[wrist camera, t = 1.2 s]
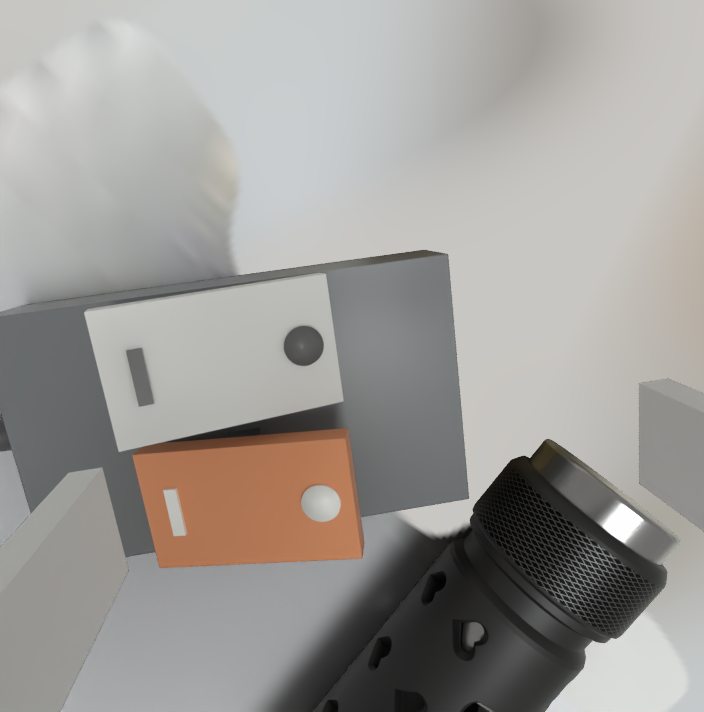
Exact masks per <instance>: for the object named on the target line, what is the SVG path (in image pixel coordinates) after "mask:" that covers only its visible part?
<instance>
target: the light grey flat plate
mask: <svg viewBox="0 0 704 712" xmlns="http://www.w3.org/2000/svg"><path fill="white" fill-rule="evenodd" d="M84 314H85V318H86V323H87V327H88V331H89V335H90V339H91V343H92V347H93V351H94V355H95V359H96V363H97V367H98V371H99V375H100V379H101V383H102V387H103V391H104V395H105V399H106V403H107V407H108V411H109V415H110V419H111V423H112V427H113V431H114V435H115V439H116V443H117V447H118V451H119V452H121V451H126V450H130V449H135V448H139V447H143V446H148V445H152V444H157V443H161V442H166V441H170V440H175V439H179V438H183V437H188V436H192V435H197V434H201V433H206V432H210V431H214V430H219V429H223V428H228V427H232V426H237V425H241V424H246V423H250V422H254V421H259V420H263V419H268V418H272V417H277V416H281V415H285V414H290V413H294V412H299V411H303V410H308V409H312V408H317V407H321V406H325V405H330V404H334V403H339V402H343V401H344V399H343V392H342V385H341V378H340V371H339V363H338V356H337V349H336V342H335V335H334V328H333V320H332V313H331V306H330V299H329V292H328V285H327V277H326V274H324V273H314V274H307V275H301V276H295V277H288V278H282V279H275V280H269V281H263V282H256V283H250V284H244V285H237V286H231V287H225V288H218V289H212V290H206V291H199V292H193V293H186V294H180V295H174V296H167V297H161V298H155V299H148V300H142V301H136V302H129V303H123V304H117V305H110V306H104V307H97V308H91V309H88V310H86V311H85V312H84Z"/></svg>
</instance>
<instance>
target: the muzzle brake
mask: <svg viewBox="0 0 704 712" xmlns="http://www.w3.org/2000/svg"><path fill="white" fill-rule="evenodd" d="M473 512H474V514H473V515H472V516H471V518H470V524H471V527H472V529H473V530H472V531H471V532H470V534H469V535H468V536H467V537H466V538H458V539H456V540H454V541H451V542H450V544H449V545H448V546H447V547H446V549H445V550H444V551H443V552H442V553H441V555H440V556H439V557H438V558H437V560H436V561H435V562H434V563H433V564H432V566H431V567H430V568H429V569H428V571H427V572H426V573H425V574H424V575H423V577H422V578H421V579H420V580H419V582H418V583H417V584H416V585H415V587H414V588H413V589H412V590H411V591H410V593H409V594H408V595H407V596H406V598H405V599H404V600H403V601H402V602H401V604H400V605H399V606H398V607H397V609H396V610H395V611H394V612H393V614H392V615H391V616H390V617H389V618H388V620H387V621H386V622H385V623H384V625H383V626H382V627H381V628H380V629H379V631H378V632H377V633H376V634H375V636H374V637H373V638H372V639H371V641H370V642H369V643H368V644H367V645H366V647H365V648H364V649H363V650H362V652H361V653H360V654H359V655H358V656H357V658H356V659H355V660H354V661H353V663H352V664H351V665H350V666H349V668H348V669H347V670H346V671H345V672H344V674H343V675H342V676H341V677H340V679H339V680H338V681H337V682H336V683H335V685H334V686H333V687H332V688H331V690H330V691H329V692H328V693H327V694H326V696H325V697H324V698H323V699H322V701H321V702H320V703H319V704H318V706H317V707H316V708H315V709H314V710H313V712H490V711H491V712H545V711H546V710H547V708H548V707H549V705H550V704H551V702H552V701H553V700H554V699H555V698H556V697H557V696H558V695H559V694H560V692H561V691H562V690H563V689H564V688H565V687H566V685H567V684H568V683H569V682H571V681H572V680H573V679H574V678H575V677H576V676H577V675H578V674H579V672H580V671H581V670H582V669H583V668H584V664H585V659H586V656H585V650H584V649H585V648H586V647H587V646H588V645H589V644H590V642H591V641H592V640H593V641H596V642H599V643H606V642H607V641H609V640H610V638H615V639H617V638H618V637H620V636H621V635H622V634H623V633H624V632H625V631H626V630H627V629H628V628H629V626H630V625H631V624H632V623H633V622H634V621H635V620H636V619H637V617H638V616H639V615H640V614H641V613H642V612H643V611H644V610H645V609H646V607H647V606H648V605H649V604H650V603H651V602H652V600H654V598H655V597H656V596H657V595H658V594H659V593H660V592H661V591H662V589H663V588H664V587H665V585H666V579H667V570H666V569H665V567H664V566H663V565H662V563H663V562H664V561H665V560H666V559H667V558H668V557H669V555H670V554H671V553H672V552H673V551H674V550H675V548H676V547H677V546H678V545H679V544H680V539H679V538H678V537H677V536H676V535H675V534H674V533H673V532H672V531H671V530H669V529H668V528H667V527H666V526H665V525H663V524H662V523H661V522H660V521H659V520H657V519H656V518H655V517H654V516H652V515H651V514H650V513H649V512H647V511H646V510H645V509H643V508H642V507H641V506H640V505H638V504H637V503H636V502H635V501H633V500H632V499H631V498H629V497H628V496H627V495H626V494H624V493H623V492H622V491H620V490H619V489H618V488H617V487H615V486H614V485H613V484H611V483H610V482H609V481H607V480H606V479H605V478H603V477H602V476H601V475H599V474H598V473H597V472H596V471H594V470H593V469H592V468H590V467H589V466H587V465H586V464H585V463H583V462H582V461H581V460H579V459H578V458H577V457H575V456H574V455H573V454H571V453H570V452H568V451H567V450H566V449H564V448H563V447H561V446H560V445H558V444H557V443H556V442H554V441H552V440H550V439H546V440H545V441H544V442H543V443H542V444H541V446H540V447H539V448H538V449H537V450H536V452H535V453H534V454H533V455H532V457H531V458H528V457H526V456H521V457H518V458H515V459H512V460H511V461H510V462H509V463H508V464H507V466H506V467H505V468H504V469H503V471H502V472H501V473H500V474H499V475H498V477H497V478H496V479H495V480H494V482H493V483H492V484H491V485H490V486H489V488H488V489H487V490H486V492H485V493H484V494H483V495H482V496H481V498H480V499H479V500H478V501H477V502H476V504H475V506H474V508H473Z"/></svg>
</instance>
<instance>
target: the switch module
mask: <svg viewBox="0 0 704 712" xmlns="http://www.w3.org/2000/svg"><path fill="white" fill-rule="evenodd" d="M314 273H324V274H326V277H327V285H328V292H329V299H330V306H331V313H332V320H333V328H334V335H335V342H336V349H337V356H338V363H339V371H340V378H341V385H342V392H343V399H344V401H343V402H339V403H334V404H330V405H325V406H321V407H317V408H312V409H308V410H303V411H299V412H294V413H290V414H285V415H281V416H277V417H272V418H268V419H263V420H259V421H254V422H250V423H246V424H241V425H237V426H232V427H228V428H223V429H219V430H214V431H210V432H206V433H201V434H197V435H192V436H188V437H183V438H179V439H175V440H170V441H166V442H161V443H169V442H181V441H193V440H206V439H218V438H230V437H243V436H255V435H268V434H280V433H292V432H305V431H317V430H330V429H342V428H348V429H349V436H350V444H351V451H352V458H353V465H354V472H355V480H356V487H357V494H358V501H359V508H360V516H361V517H364V516H370V515H376V514H382V513H388V512H394V511H399V510H405V509H411V508H417V507H423V506H429V505H435V504H441V503H446V502H452V501H458V500H464V499H469V495H468V494H469V493H468V482H467V471H466V458H465V448H464V435H463V425H462V424H463V423H462V411H461V400H460V388H459V376H458V366H457V353H456V341H455V330H454V318H453V307H452V295H451V283H450V271H449V259H448V254H445V253H439V252H433V251H428V250H420V251H413V252H406V253H398V254H391V255H384V256H376V257H369V258H362V259H354V260H347V261H340V262H333V263H325V264H318V265H311V266H304V267H297V268H289V269H282V270H275V271H268V272H260V273H253V274H246V275H238V276H231V277H224V278H217V279H209V280H202V281H195V282H187V283H180V284H173V285H166V286H158V287H151V288H144V289H137V290H129V291H122V292H115V293H108V294H100V295H93V296H86V297H79V298H71V299H64V300H57V301H50V302H42V303H35V304H28V305H23V306H20V307H16V308H13V309H9V310H6V311H2V312H0V411H1V415H2V418H3V421H0V452H1V451H7V450H12V452H13V455H14V458H15V462H16V465H17V468H18V472H19V475H20V478H21V482H22V485H23V488H24V492H25V495H26V498H27V502H28V505H29V508H30V512H31V513H32V512H33V511H34V510H35V509H36V508H37V506H38V505H39V504H40V503H41V502H42V501H43V500H44V499H45V498H46V497H47V496H48V495H49V493H50V492H51V491H52V490H53V489H54V488H55V487H56V486H57V485H58V484H59V483H60V482H61V480H62V479H63V478H64V477H65V476H66V475H67V474H68V473H70V472H76V471H83V470H89V469H95V468H103V472H104V476H105V480H106V484H107V488H108V492H109V495H110V499H111V503H112V507H113V511H114V515H115V519H116V523H117V527H118V530H119V534H120V538H121V542H122V546H123V550H124V554H125V557H129V556H135V555H140V554H146V553H152V552H156V551H155V547H154V543H153V539H152V534H151V530H150V526H149V522H148V518H147V514H146V510H145V506H144V502H143V497H142V493H141V489H140V485H139V481H138V477H137V473H136V469H135V464H134V460H133V456H132V455H133V454H134V453H135V452H136V451H137V450H139V449H140V448H141V447H139V448H135V449H130V450H126V451H121V452H119V451H118V447H117V443H116V439H115V435H114V431H113V427H112V423H111V419H110V415H109V411H108V407H107V403H106V399H105V395H104V391H103V387H102V383H101V379H100V375H99V371H98V367H97V363H96V359H95V355H94V351H93V347H92V343H91V339H90V335H89V331H88V327H87V323H86V318H85V314H84V312H85V311H86V310H88V309H91V308H97V307H104V306H110V305H117V304H123V303H129V302H136V301H142V300H148V299H155V298H161V297H167V296H174V295H180V294H186V293H193V292H199V291H206V290H212V289H218V288H225V287H231V286H237V285H244V284H250V283H256V282H263V281H269V280H275V279H282V278H288V277H295V276H301V275H307V274H314Z"/></svg>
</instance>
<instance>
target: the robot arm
mask: <svg viewBox="0 0 704 712" xmlns="http://www.w3.org/2000/svg"><path fill="white" fill-rule="evenodd" d="M639 484H640V485H642V486H643V487H644V488H646V489H647V490H648V491H650V492H651V493H652V494H654V495H655V496H657V497H658V498H659V499H661V500H662V501H663V502H664V503H666V504H667V505H668V506H670V507H671V508H672V509H674V510H675V511H677V512H678V513H679V514H681V515H682V516H683V517H685V518H686V519H688V520H689V521H690V522H691V523H693V524H694V525H695V526H697V527H698V528H699V529H701V530H702V531H703V532H704V393H703V392H700V391H698V390H695V389H693V388H690V387H688V386H685V385H683V384H680V383H678V382H675V381H673V380H671V379H662V380H655V381H649V382H642V383H639ZM128 571H129V569H128V566H127V562H126V558H125V554H124V550H123V546H122V542H121V538H120V534H119V530H118V527H117V523H116V519H115V515H114V511H113V507H112V503H111V499H110V495H109V492H108V488H107V484H106V480H105V476H104V472H103V468H95V469H89V470H83V471H76V472H70V473H68V474H67V475H66V476H65V477H64V478H63V479H62V480H61V482H60V483H59V484H58V485H57V486H56V487H55V488H54V489H53V490H52V491H51V492H50V493H49V495H48V496H47V497H46V498H45V499H44V500H43V501H42V502H41V503H40V504H39V505H38V506H37V508H36V509H35V510H34V511H33V512H32V513H31V514H30V515H29V516H28V517H27V518H26V519H25V521H24V522H23V523H22V524H21V525H20V526H19V527H18V528H17V529H16V530H15V531H14V532H13V534H12V535H11V536H10V537H9V538H8V539H7V540H6V541H5V542H4V543H3V544H2V545H1V547H0V712H60V711H61V709H62V707H63V705H64V703H65V701H66V699H67V697H68V695H69V693H70V690H71V688H72V686H73V684H74V682H75V680H76V678H77V676H78V674H79V672H80V670H81V668H82V666H83V664H84V662H85V660H86V657H87V655H88V653H89V651H90V649H91V647H92V645H93V643H94V641H95V639H96V637H97V635H98V633H99V631H100V629H101V627H102V624H103V622H104V620H105V618H106V616H107V614H108V612H109V610H110V608H111V606H112V604H113V602H114V600H115V598H116V596H117V594H118V592H119V589H120V587H121V585H122V583H123V581H124V579H125V577H126V575H127V573H128Z"/></svg>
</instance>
